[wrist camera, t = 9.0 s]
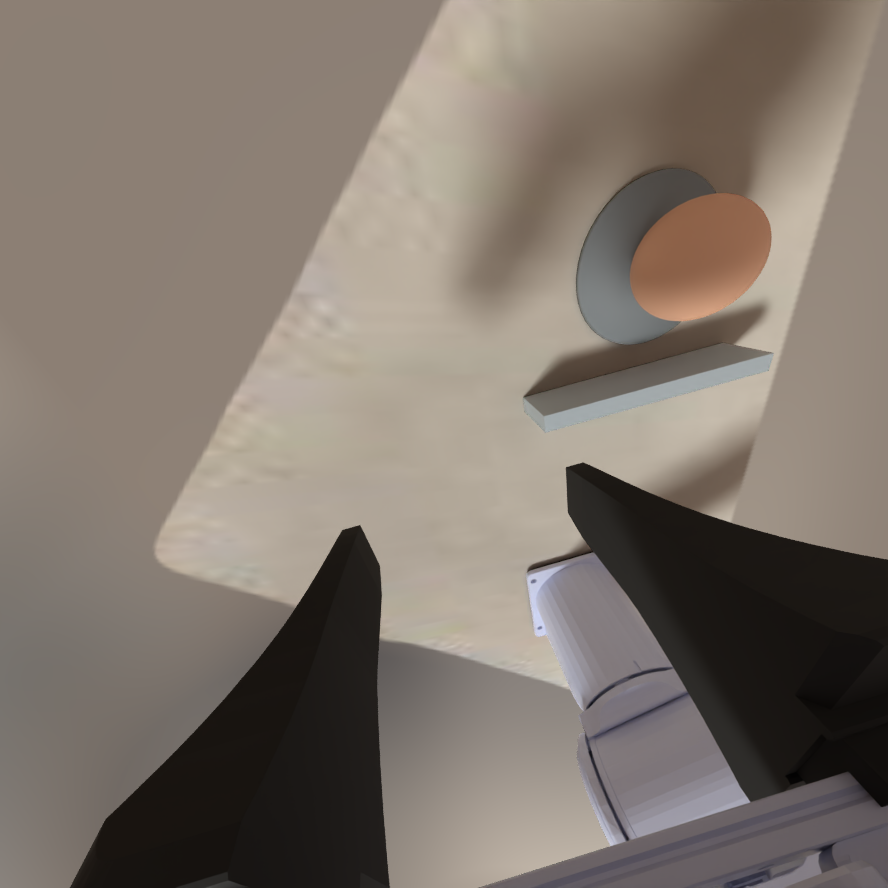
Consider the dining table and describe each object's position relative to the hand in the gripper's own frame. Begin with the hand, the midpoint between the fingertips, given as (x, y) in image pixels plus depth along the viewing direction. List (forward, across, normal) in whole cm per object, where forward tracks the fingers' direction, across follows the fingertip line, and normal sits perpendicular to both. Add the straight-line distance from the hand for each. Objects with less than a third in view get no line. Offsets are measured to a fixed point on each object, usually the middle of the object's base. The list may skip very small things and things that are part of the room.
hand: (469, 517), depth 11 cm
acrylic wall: (+9, -12, +1) cm, 15 cm away
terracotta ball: (+9, -13, -5) cm, 17 cm away
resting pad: (+9, -13, -5) cm, 17 cm away
